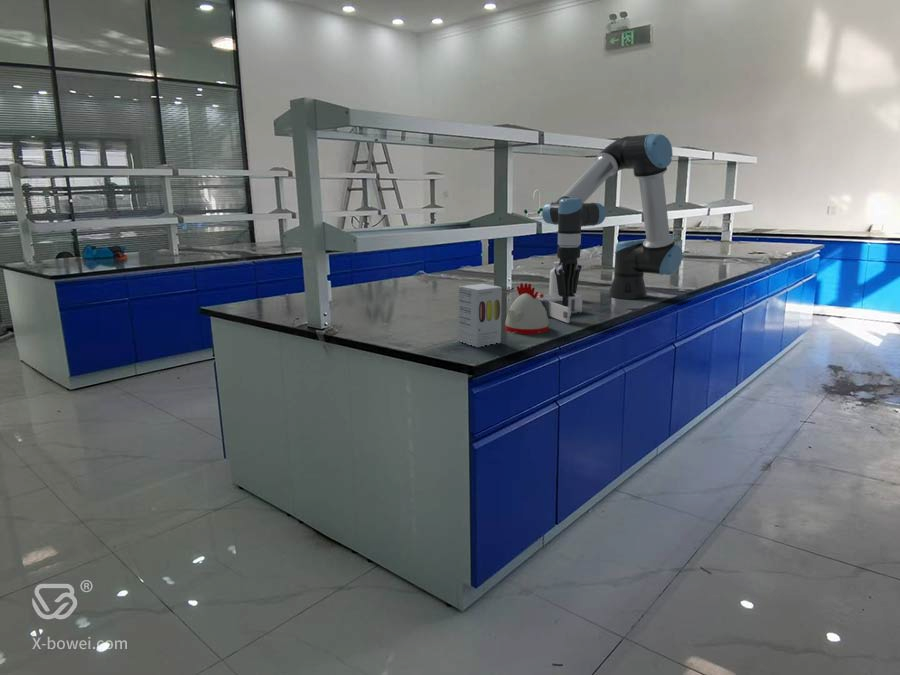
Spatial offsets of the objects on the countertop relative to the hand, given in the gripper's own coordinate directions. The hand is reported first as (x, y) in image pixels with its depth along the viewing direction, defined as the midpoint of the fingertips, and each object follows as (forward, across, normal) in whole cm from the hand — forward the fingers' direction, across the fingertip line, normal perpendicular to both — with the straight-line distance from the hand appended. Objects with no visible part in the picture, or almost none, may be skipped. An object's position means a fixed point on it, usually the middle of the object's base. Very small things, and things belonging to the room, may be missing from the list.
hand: (566, 315), depth 207 cm
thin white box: (+2, +2, -2) cm, 3 cm away
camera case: (+2, -8, -12) cm, 14 cm away
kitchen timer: (+2, +19, -2) cm, 19 cm away
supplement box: (+1, +42, -2) cm, 42 cm away
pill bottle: (+3, -33, -26) cm, 42 cm away
